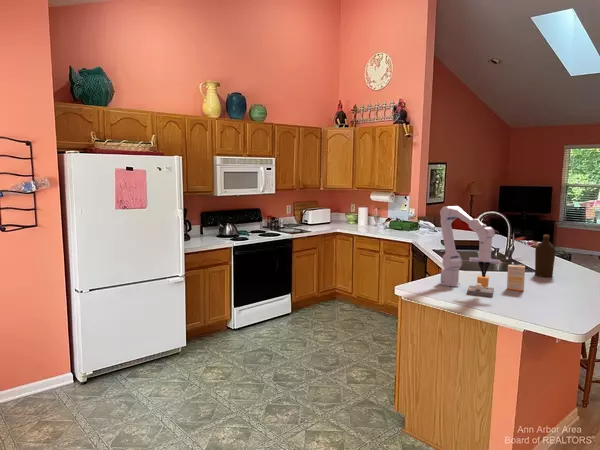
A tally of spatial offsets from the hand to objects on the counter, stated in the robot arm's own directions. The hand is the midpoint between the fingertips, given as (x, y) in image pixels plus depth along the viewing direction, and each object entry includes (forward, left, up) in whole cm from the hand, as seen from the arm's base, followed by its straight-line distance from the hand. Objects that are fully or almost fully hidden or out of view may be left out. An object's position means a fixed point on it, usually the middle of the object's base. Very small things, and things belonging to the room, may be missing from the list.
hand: (483, 276), depth 223 cm
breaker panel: (-1, +1, -9) cm, 9 cm away
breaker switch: (-2, 0, -7) cm, 7 cm away
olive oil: (+30, +60, -9) cm, 68 cm away
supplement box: (+15, +17, -9) cm, 24 cm away
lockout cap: (-1, +14, -9) cm, 17 cm away
